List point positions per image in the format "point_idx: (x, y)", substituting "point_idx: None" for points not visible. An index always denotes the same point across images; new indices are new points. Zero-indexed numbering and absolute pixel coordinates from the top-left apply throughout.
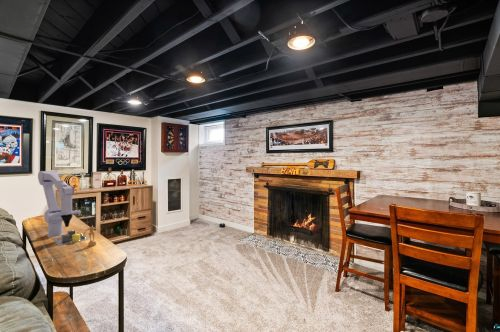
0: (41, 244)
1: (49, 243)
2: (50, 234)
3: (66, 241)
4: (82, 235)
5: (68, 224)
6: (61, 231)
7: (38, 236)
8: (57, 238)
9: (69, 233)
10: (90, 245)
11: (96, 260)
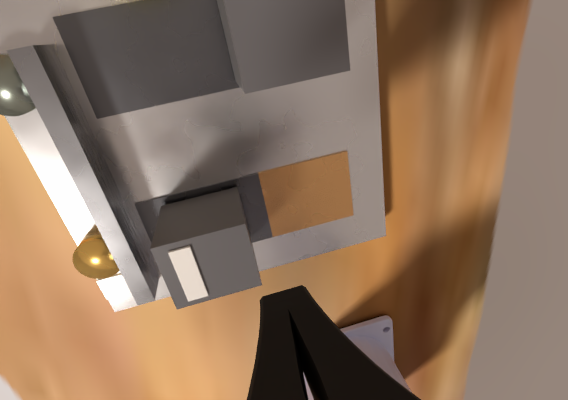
0: (465, 154)
1: (408, 147)
2: (387, 355)
3: None
4: (72, 212)
5: (268, 324)
6: (307, 390)
7: (435, 378)
8: (345, 225)
9: (232, 213)
10: None
11: None
